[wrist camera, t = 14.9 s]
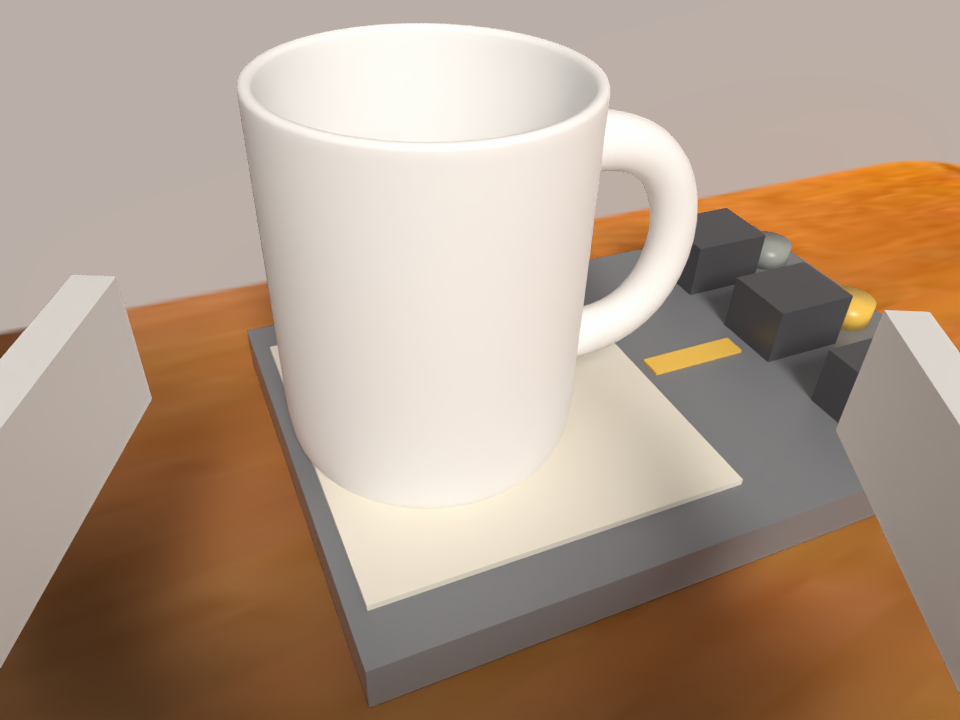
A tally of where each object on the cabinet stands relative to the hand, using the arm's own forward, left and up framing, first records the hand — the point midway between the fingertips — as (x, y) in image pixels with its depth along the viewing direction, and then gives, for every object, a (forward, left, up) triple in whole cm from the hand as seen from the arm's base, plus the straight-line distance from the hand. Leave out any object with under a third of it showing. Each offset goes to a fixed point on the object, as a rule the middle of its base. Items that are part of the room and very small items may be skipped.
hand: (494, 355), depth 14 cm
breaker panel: (+3, +10, -9) cm, 14 cm away
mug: (-1, +7, -8) cm, 11 cm away
